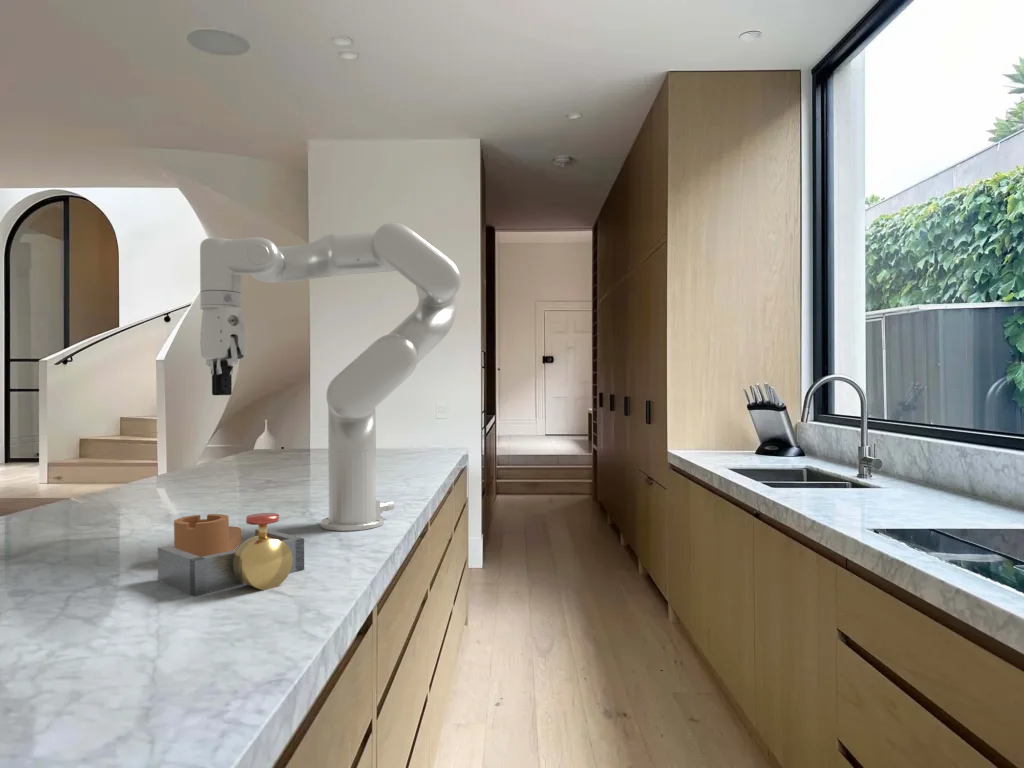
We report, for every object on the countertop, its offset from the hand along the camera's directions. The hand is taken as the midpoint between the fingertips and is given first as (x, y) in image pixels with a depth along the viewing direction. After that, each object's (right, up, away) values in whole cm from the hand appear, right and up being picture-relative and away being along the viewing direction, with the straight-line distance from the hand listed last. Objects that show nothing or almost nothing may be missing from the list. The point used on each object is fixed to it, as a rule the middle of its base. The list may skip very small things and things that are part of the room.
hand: (221, 394), depth 134 cm
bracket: (+5, -28, -16) cm, 32 cm away
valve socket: (+17, -27, -32) cm, 45 cm away
